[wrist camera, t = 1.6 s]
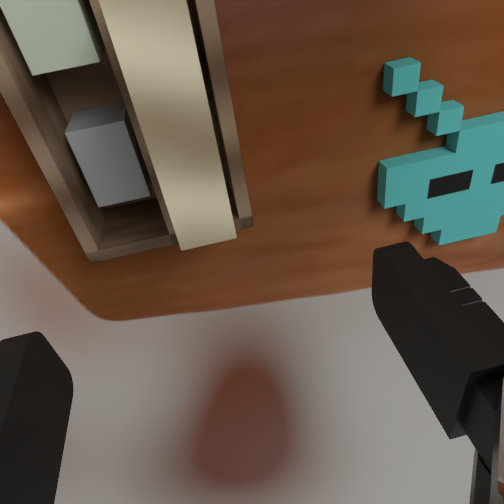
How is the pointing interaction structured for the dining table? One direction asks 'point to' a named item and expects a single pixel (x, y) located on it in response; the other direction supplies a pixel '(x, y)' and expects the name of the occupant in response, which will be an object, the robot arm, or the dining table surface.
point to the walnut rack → (115, 91)
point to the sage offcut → (54, 33)
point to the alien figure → (444, 164)
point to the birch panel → (173, 114)
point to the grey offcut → (109, 154)
